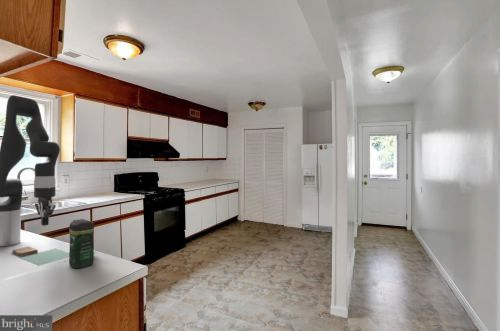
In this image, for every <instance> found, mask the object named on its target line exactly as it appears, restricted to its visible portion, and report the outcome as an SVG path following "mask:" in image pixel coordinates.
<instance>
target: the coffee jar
mask: <svg viewBox="0 0 500 331" xmlns="http://www.w3.org/2000/svg"><path fill="white" fill-rule="evenodd" d="M68 231H69V251H68V253H69V257H68V264H69V266H70V267H72V268H74V269H79V268H82V269H84V268H87V267H90V266H91V265H93V264H94V262H95V258H94V256H95V254H94V253H95V252H94V250H95V246H94V241H95V240H94V237H95V236H94V234H95V233H94V232H95V224H94V222H93V221H90V220H87V219H84V218H81V219H74V220H72V221H71V222H70V223H69V230H68Z"/></svg>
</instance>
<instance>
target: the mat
mask: <svg viewBox="0 0 500 331" xmlns="http://www.w3.org/2000/svg"><path fill="white" fill-rule="evenodd" d="M66 258H69V251H65V250H61V249H57V248H52V249H48V250H43V251H41V252H40V251H39V252H38V253H35V254H31V255H27V256H23V257H20V256H19V259H21V260H23V261H26V262H27V263H31V264H33V265H36V266H42V265H45V264H49V263H53V262H56V261H59V260H63V259H66Z"/></svg>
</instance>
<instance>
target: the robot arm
mask: <svg viewBox="0 0 500 331" xmlns="http://www.w3.org/2000/svg"><path fill="white" fill-rule="evenodd" d="M18 116H19V117H24V118H30V121H28V123H27V124H26V126H25V133H26V134H27V137H28V138H29V154H31V155H32V156H33V157H35V158H47V159H46V160H45V161H43V162H42V161H41V162H37V163H36V164H35V165H34V181H33V197H34V198H36V199H37V202H36V203H34V207H35V209H36V211H37V215H38V216H40V218H41V220H40V222H41V224H40V225H41V226H48V225H49V220H50V218H49V217H51V216H52V215H53V214H54V211H55V209H56V205H55V204H53V200H52V199H53V197H55V196H56V164H57V160H58V157H59V155H60V152H61V148H60V145H59V144H58V143H57V142H56V141H55V142H54V141H49V140H50V136H49V134H48V131H47V130H46V128H45V126H44V124H43V119H42V114H41V111H40V106H39V104H38V102H37V101H36V100H35V99H32V98H29V97H24V96H20V95H15V94H14V95H13V94H12V95H9V97H8V99H7V102H6V110H5V120H4V121H5V122H4V129H3V133H2V138H1V142H0V198H7V199H6V200H5V201H3V202H0V247H6V246H8V247H9V246H13V245H14V246H15V245H17V244H19V243H21V234H22V233H21V232H22V230H21V229H22V228H21V223H22V222H21V219H22V218H21V207H22V201H23V188H24V187H23V183H22V180H21V179H19V178H18V177H17V178H15V177H14V178H8V176H9V174H10V172H11V170H12V169H13V168H14V167H16V166H17V164H18V163H20V161H21V160H23V158H24V156H25V154H26V149H27V141H26V138H25V137H24V135H23V133H22V132H21V130H20V129H19V126H18V122H17V117H18Z"/></svg>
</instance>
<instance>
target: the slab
mask: <svg viewBox="0 0 500 331" xmlns="http://www.w3.org/2000/svg"><path fill="white" fill-rule="evenodd" d="M11 252H12V254H13V255H16V256H18V257H19V258H20V257H24V256H28V255H32V254H36V253H39V252H38V249H37V248H34V247H31V246H24V247H19V248H16V249H12V251H11Z"/></svg>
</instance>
